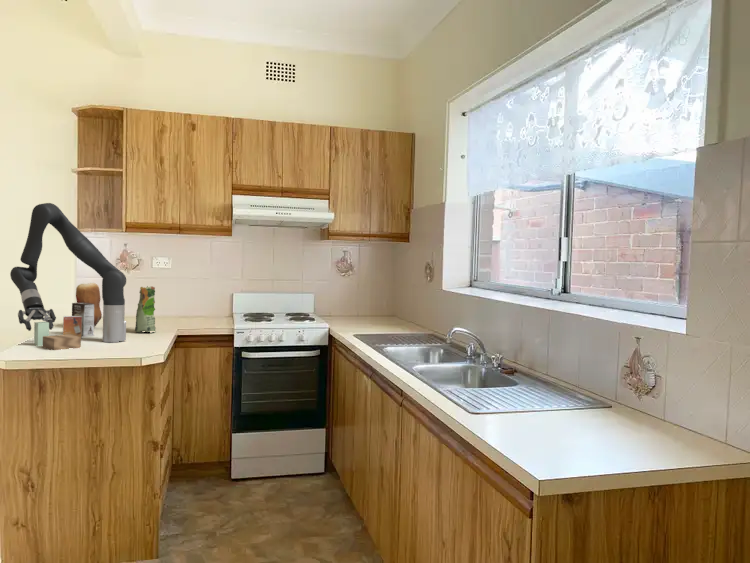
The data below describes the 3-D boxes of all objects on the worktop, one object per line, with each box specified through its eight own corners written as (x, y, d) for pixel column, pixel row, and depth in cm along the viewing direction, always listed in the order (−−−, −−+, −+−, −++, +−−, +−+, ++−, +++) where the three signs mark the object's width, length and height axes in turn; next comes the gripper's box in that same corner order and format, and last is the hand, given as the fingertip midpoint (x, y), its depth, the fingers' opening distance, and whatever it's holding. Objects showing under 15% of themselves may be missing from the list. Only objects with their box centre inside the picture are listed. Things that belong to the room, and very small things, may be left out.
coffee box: (70, 334, 293) (71, 302, 292) (81, 333, 299) (82, 302, 298) (83, 336, 289) (83, 303, 289) (94, 335, 295) (95, 303, 294)
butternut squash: (71, 327, 321) (72, 282, 320) (97, 326, 330) (98, 282, 329) (78, 330, 311) (79, 283, 310) (105, 329, 319) (106, 283, 319)
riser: (68, 345, 261) (69, 334, 260) (80, 348, 254) (80, 337, 254) (42, 347, 252) (42, 336, 252) (54, 351, 245) (54, 339, 245)
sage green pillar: (45, 344, 261) (45, 321, 261) (48, 345, 258) (49, 322, 258) (34, 344, 258) (34, 322, 257) (37, 346, 255) (38, 323, 254)
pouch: (153, 331, 318) (154, 285, 318) (159, 333, 309) (160, 286, 308) (131, 331, 312) (132, 285, 311) (137, 334, 302) (138, 286, 301)
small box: (62, 339, 278) (63, 316, 278) (62, 337, 283) (63, 315, 283) (81, 338, 282) (82, 316, 282) (81, 337, 287) (81, 315, 287)
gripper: (16, 296, 258) (25, 324, 251) (51, 295, 269) (60, 322, 262) (12, 307, 262) (20, 335, 255) (46, 306, 273) (55, 333, 265)
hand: (40, 329), depth 258 cm, fingers open, 8 cm apart
